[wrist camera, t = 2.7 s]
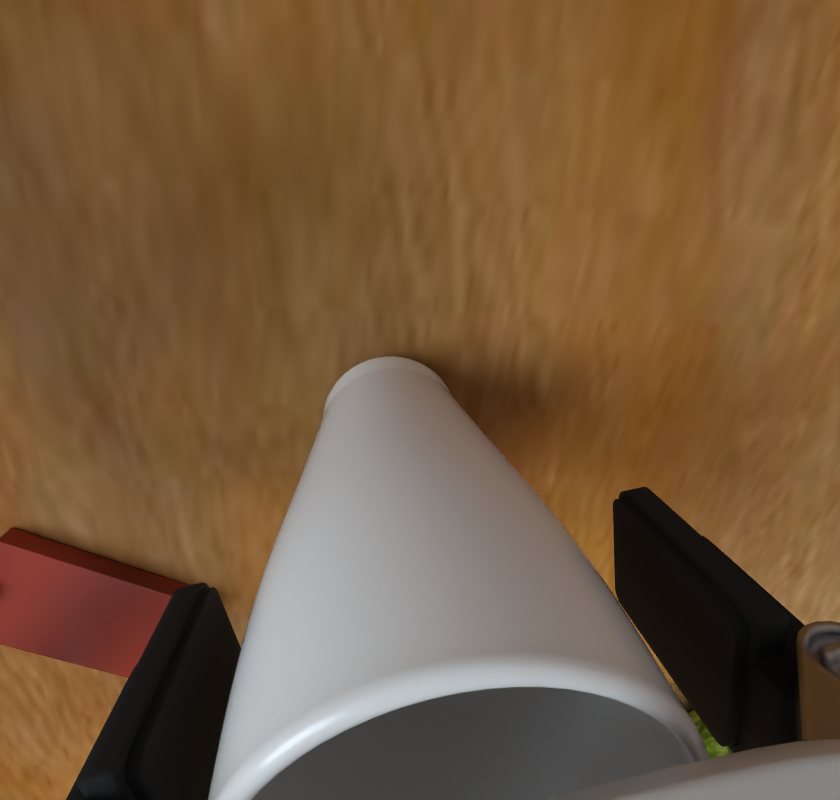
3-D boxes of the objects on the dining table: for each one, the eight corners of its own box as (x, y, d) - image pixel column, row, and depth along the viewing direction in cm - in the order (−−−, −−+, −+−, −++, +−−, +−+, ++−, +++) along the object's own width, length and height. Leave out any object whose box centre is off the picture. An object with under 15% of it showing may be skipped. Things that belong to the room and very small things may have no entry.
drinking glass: (486, 350, 19) (820, 679, 6) (447, 493, 22) (618, 989, 8) (318, 319, 18) (201, 645, 4) (295, 474, 20) (168, 1030, 6)
